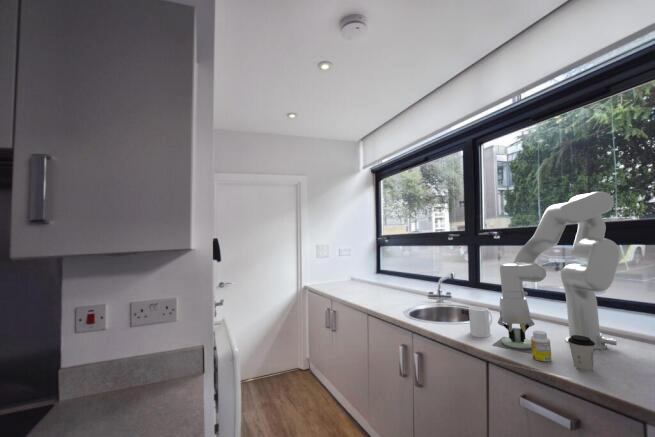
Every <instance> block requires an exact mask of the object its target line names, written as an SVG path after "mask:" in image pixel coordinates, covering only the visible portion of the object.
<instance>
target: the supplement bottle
mask: <svg viewBox="0 0 655 437" xmlns="http://www.w3.org/2000/svg"><path fill="white" fill-rule="evenodd" d="M547 335H548V334H547V332H546V331H543V330H533V331H532V336H531V337H530V340H531V345H532V354H531V355H532V360H533V361H535V362H537V363H541V364H551V363H553V360H552V359H553V357H552V349H551V339H550V338H548V336H547Z"/></svg>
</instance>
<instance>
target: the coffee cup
mask: <svg viewBox="0 0 655 437" xmlns="http://www.w3.org/2000/svg"><path fill="white" fill-rule="evenodd" d="M568 342H569V343H568V346H569V348H570V352H571V353H570V354H571V357H572V360H573V365H574V367H575V369H576V370H578V371H581V372H588V373H589V372H593V370H594V352H595V351H594V345H595V343H594V342H593V341H592V340H590V338H588V337H585V336H580V335H572V336H571V338H569V339H568Z"/></svg>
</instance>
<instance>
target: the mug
mask: <svg viewBox="0 0 655 437" xmlns="http://www.w3.org/2000/svg"><path fill="white" fill-rule="evenodd" d="M468 315H469V316H468V317H469V327H470V328H469V330H470V332H469V333H470V336H473V337H476V338H477V337H478V338H489V337H491V336H492V334H491V325H492V324H493V323H492V322H493V315H492V313H491V312H490V311H489V308H488V307H485V306H469V307H468Z"/></svg>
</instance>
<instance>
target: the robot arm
mask: <svg viewBox="0 0 655 437" xmlns="http://www.w3.org/2000/svg"><path fill="white" fill-rule="evenodd" d="M614 200H615V199H614V198H613V196H612V195H611V194H610V193H608V192H606V191H592V192H590V193H583V194H577V195H575V196H573V197H570V199H569V200H568V202H562V203H561V202H560V203H556V204H552V205H549V206H548V207H546V210H545V211H544V213H543V215H542V217H541V220H540V221H539V224H538V225H537V228H536V230H535V232H534V234H533V236H532V237H531V238H530V239H529V240H528V241H527V242H526V243H525V244H524V245H523V246H522V247H521V249H520V250H519V251H518V253H517V255H516V256H515V259H514V260H513V263H502V264H501V265H500V266H499V273H500V274H499V275H500V276H499V277H500V282H501V283H500V284H501V297H500V299H499V318H498V320H497V324H498V325H499V326H502V327H504V328H506V330H507V331H508V337H509V339H511V340H512V342H515V340H514V332H513V330H512V328H513V325H519V327H520V331H521V341H522V342H524V339H527V338H526V331H527V330H528V329H529V328H531V327H533V326H534V325H535V322H534V321H533V319H532V318H531V312H530V307H529V305H528V301H527V298H526V297H525V296H528V294H529V293H528V291H524V285H523V284H524V283H523V282H528V283H529V282H530V283H537V282H538V283H539V282H542V281H543V280H544V279H545V278H546V277H547V270H546V269H545V267H544V266H543V265H541V264H539V263H536V262H535V261H536V260H537V259H538V258H539V256H540V255H542V254H543V253H545V252H546V251H548V250H551V249H552V248H554V247H556V246H557V245H558V243H559V241H560V239H561V237H562V235H563V233H564V231H565V228H566V226H567V225H574V224H577V232H576V234H575V239H574V241H573V246H572V250H571V254H572V256H573V258H575V259H576V260H578V261H580V262H586V263H587V264H581V263H570V264H567V265H565V266H563V268H562V270H561V271H560V272H561V273H560V279H561V282H562V285H563V288H564V293H565V299H566V300H565V302H566V303H565V304H566V312H567V322H568V323H567V324H568V332H569V336H567V337H565V339H564V340H565V343H567V344H569V342H568V339H569V338H571V336H572V335H580V336H585V337H588V338H590V340H592V341H593V342H594V343H595V345H594V350H595V351H597V350H605V349H606V348H608V347H607V346H608V345H610V346H617V344H618V343H617V339H613V338H612V337H611V338H610V337H605V336H603V333H601V329H600V321H599V319H600V318H599V311H598V310H599V309H598V300H597V296H596V294H595V292H596V293H601V292H602V293H603V292H606V290H608V289H609V288H610V287H611V285H612V284H613V281H614V278H615V275H616V271H617V268H618V264H619V262H620V257H621V254H620V252H621V251H620V248H619V246H618V244H617V243H616V242H615V241H613V240H611V239H609V238H605V235H606V234H605V233H606V228H607V226H606V223H605V219H603V217H602V215H603V214H606V213H608V212H609V211H611V210H612V209H613V207H614V204H615V201H614Z"/></svg>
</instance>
